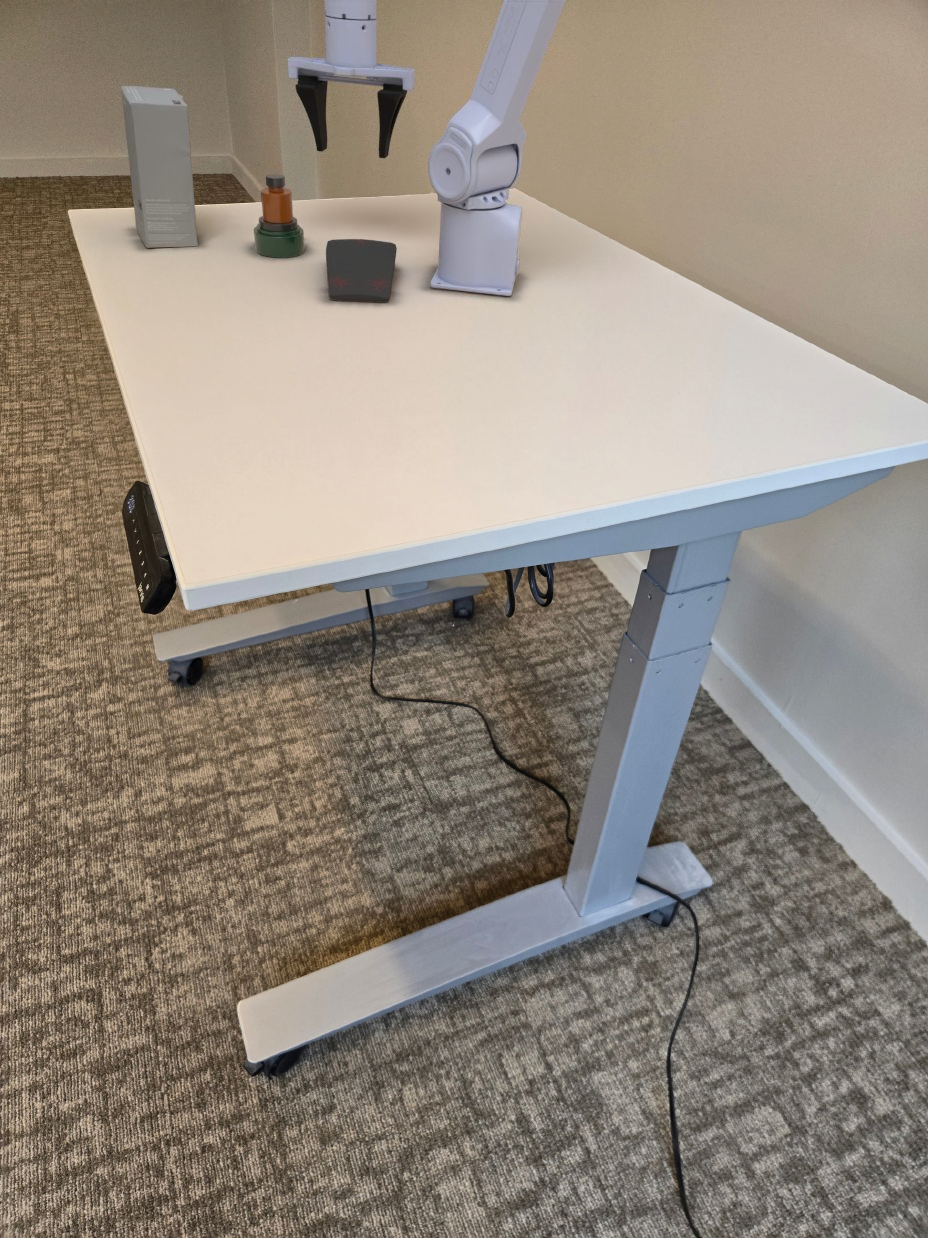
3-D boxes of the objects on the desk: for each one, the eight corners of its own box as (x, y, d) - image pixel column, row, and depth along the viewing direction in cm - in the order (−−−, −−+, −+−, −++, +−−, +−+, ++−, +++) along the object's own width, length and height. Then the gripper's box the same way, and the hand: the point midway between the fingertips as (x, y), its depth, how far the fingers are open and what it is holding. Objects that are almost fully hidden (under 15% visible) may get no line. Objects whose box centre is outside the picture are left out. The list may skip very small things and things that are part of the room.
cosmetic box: (135, 229, 110) (111, 84, 100) (193, 226, 112) (175, 84, 102) (145, 250, 104) (120, 98, 94) (205, 246, 107) (188, 98, 96)
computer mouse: (396, 263, 106) (396, 229, 104) (396, 303, 96) (396, 266, 93) (329, 260, 106) (328, 225, 103) (322, 300, 95) (320, 263, 93)
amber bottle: (298, 217, 106) (295, 174, 103) (285, 225, 103) (282, 181, 100) (271, 213, 107) (268, 170, 104) (257, 220, 104) (254, 176, 101)
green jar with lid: (310, 245, 110) (308, 215, 107) (297, 260, 105) (295, 228, 103) (263, 240, 110) (261, 210, 108) (248, 254, 105) (245, 223, 103)
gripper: (276, 13, 94) (284, 153, 103) (407, 26, 93) (404, 166, 101) (296, 8, 99) (302, 141, 108) (420, 20, 98) (416, 153, 107)
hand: (352, 152), depth 105 cm, fingers open, 7 cm apart
